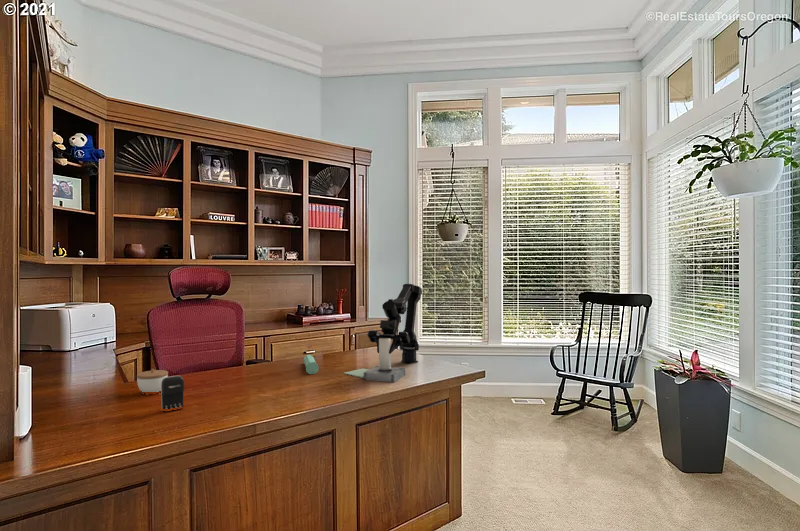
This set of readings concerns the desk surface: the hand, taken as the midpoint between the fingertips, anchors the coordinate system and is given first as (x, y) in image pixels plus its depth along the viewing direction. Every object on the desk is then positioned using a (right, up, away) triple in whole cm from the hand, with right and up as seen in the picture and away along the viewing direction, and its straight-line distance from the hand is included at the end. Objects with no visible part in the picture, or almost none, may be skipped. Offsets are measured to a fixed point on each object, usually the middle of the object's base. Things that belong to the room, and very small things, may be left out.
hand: (383, 352), depth 205 cm
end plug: (+1, -7, +1) cm, 7 cm away
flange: (0, -11, +1) cm, 11 cm away
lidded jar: (-89, -12, -22) cm, 93 cm away
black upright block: (-70, -12, -44) cm, 84 cm away
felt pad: (-10, -11, +8) cm, 17 cm away
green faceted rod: (-36, -12, +20) cm, 43 cm away
